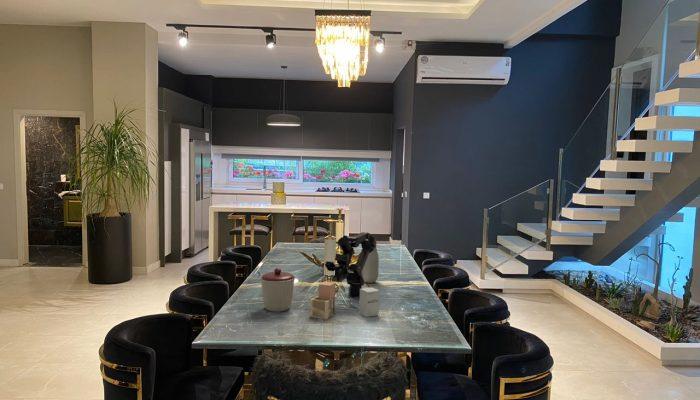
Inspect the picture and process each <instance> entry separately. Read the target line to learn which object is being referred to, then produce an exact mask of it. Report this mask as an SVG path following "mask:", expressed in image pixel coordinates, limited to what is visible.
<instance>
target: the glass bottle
mask: <svg viewBox="0 0 700 400" xmlns="http://www.w3.org/2000/svg"><path fill="white" fill-rule="evenodd" d="M379 261H380V260H379V252H378V249H377V246H376V247H375V249H374V250H373V251H372V252H371V253H369V255H368V258H367V260H366V262H365V265H364V267H363V269H362V276H363V279H364V283H369V284H373V283H375V282H377V280H378V278H379Z"/></svg>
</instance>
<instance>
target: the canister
mask: <svg viewBox="0 0 700 400" xmlns="http://www.w3.org/2000/svg"><path fill="white" fill-rule="evenodd" d="M259 280H260V281H261V292H262V293H261V294H262V299H263V307H264V308H265V309H266V310H267V311H268V312H278V313H279V312H285V311H288V310H289V309H290V308H291V306H292V302H293V295H294V285H295V280H296V275H294V274H293V273H291V272H286V271H282V269H281V268H280V267H278V268H277V267H276V268H275V269H274V270H273V271H271V272H267V273H264V274H262V275H261V276H259Z"/></svg>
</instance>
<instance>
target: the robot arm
mask: <svg viewBox="0 0 700 400" xmlns="http://www.w3.org/2000/svg"><path fill="white" fill-rule="evenodd" d="M337 244H338V246H339V248H340V250H341V252H342V253H336V254H335V257H334V261H336V263H335V262H334V261H332V260H331V261H328V260H327V261H326V262H324V266H325V268H326V270H327V271H329V272H334V271H335V272H336V282H337V283H338V282H340V281H341V280H342V279H343V278H344V277H345V278H346V283H347V285H349V286H348V295H349V296H351V297H352V298H355V297H360V289H363V288H362V287H363V286H364V285H365V281H364V279H363V276H362V269H363V267H364V265H365V262H366V260H367V258H368V255H369V253H371V252H372V251H373V250H374V249H375V247H376V248H377V240H376V238H374V236H372V235H371V234H370V233H369V232H368V231H367V232H365V231H364V232H363V231H362V232H360V233H358V234H356V235H353V236H348V235H343V236H342V237H340V238H339V239H338V240H337ZM360 245H361V246H360ZM359 246H360V247H361V251H360V252H359V255H358V258H357V260H356V262H355V263H352V261H353V260H352V258H353V256H354V255H355V254H356V252H355V249H356V248H357V249H358V248H359ZM354 248H355V249H354Z"/></svg>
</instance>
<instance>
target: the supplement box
mask: <svg viewBox="0 0 700 400" xmlns="http://www.w3.org/2000/svg"><path fill="white" fill-rule="evenodd" d="M358 310H359V311H358V313H359V314H360V315H362V316H363V317H365V318H369V317H373V316H379V315H380V313H379V312H380V311H379V310H380V290H379V289H377V288H375V287H373V286H372V287H364V288H362V289H360V296H359V309H358Z"/></svg>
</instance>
